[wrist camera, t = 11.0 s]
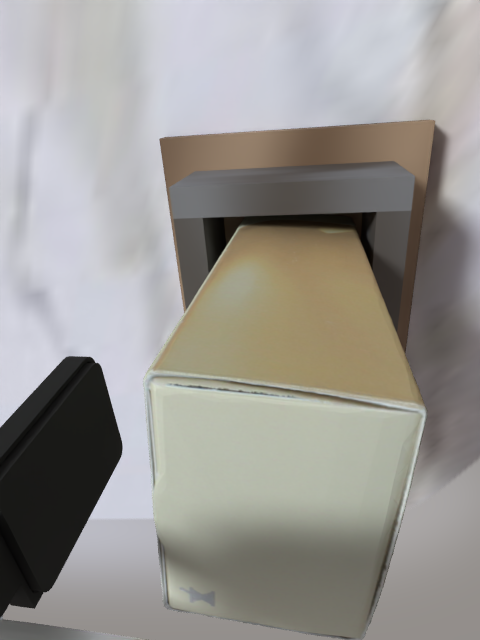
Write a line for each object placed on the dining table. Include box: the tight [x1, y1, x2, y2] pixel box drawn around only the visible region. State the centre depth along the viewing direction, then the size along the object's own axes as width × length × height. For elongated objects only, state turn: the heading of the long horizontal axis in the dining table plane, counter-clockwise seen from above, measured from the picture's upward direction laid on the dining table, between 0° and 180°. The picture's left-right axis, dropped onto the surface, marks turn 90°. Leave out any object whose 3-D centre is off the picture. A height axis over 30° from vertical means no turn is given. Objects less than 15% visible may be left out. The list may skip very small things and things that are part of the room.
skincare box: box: [143, 214, 427, 640], centre depth 13 cm, size 6×4×12 cm
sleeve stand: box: [160, 120, 435, 353], centre depth 17 cm, size 10×12×4 cm
